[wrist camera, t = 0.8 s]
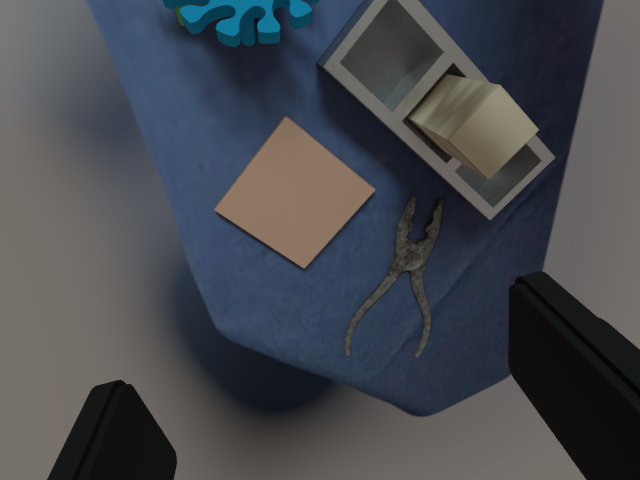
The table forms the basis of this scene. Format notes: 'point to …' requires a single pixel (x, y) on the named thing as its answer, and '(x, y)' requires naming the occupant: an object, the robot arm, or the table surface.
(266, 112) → the table surface
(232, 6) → the gear
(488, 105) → the peg
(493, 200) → the shelf
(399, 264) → the pliers
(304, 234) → the tile
